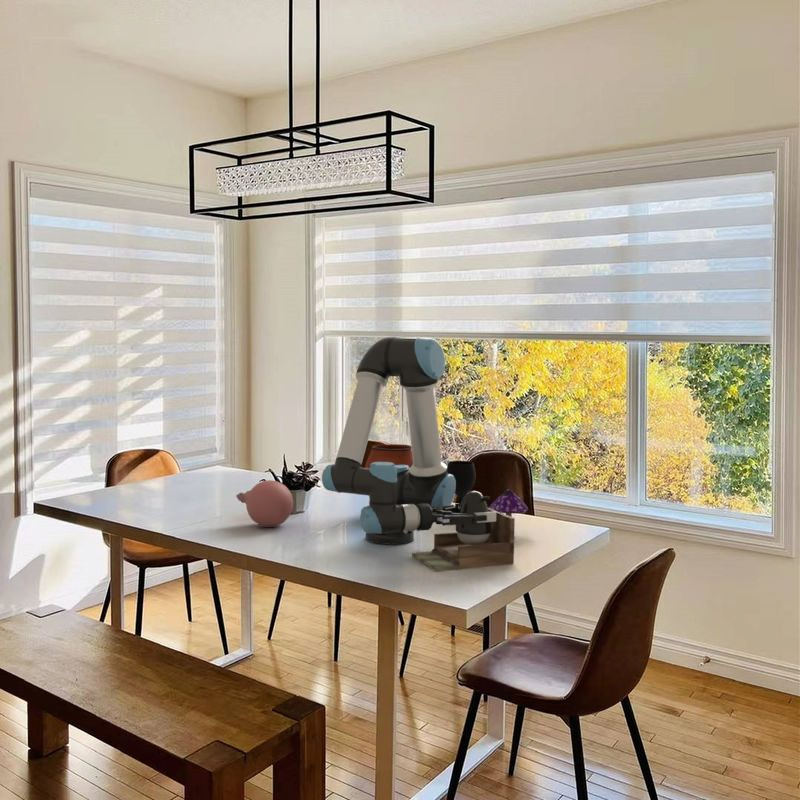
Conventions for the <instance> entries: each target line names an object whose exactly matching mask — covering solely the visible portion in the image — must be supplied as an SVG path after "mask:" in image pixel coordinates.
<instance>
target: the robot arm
mask: <svg viewBox="0 0 800 800" xmlns="http://www.w3.org/2000/svg"><path fill="white" fill-rule="evenodd" d="M445 366H446V355H445V352H444V350H443V346H442V345H441V343H439V341H438V340H436V339H435V338H432V337H424V336H410V337H409V336H403V337H401V336H399V337H398V336H397V337H395V336H387V337H384V338H381V339H380V340H378V341H376V342H375V343H374V344H373V345H371V346H370V347H369V349H368V350H366V352H365V354H364V355H363V356H362V358H361V360H360V362H359V364H358V367H357V369H356V372H355V379H356V380H357V382H356V385H355V390H354V392H353V395H352V396H353V397H352V400H351V402H350V403H351V404H350V407H349V411H348V415H347V418H346V421H345V426H344V429H343V433H342V436H341V440H340V444H339V447H338V450H337V451H338V452H337V454H336V458H335V460H334V463H333V464H328V465H326V466H325V467H324V469H323V471H322V473H321V482H322V486H323V488H324V489H325V490H327V491H329V492H336V493H338V494H341V493H343V494H354V495H360V496H361V495H362V496H368V498H369V501H368V504H369V505H366V506H363V507H361V509H360V514H359V516H360V517H359V520H360V521H359V523H360V526H361V529H362V531H363V532H364V533H365V540H366V541H368V542H369V543H373V544H379V545H400V544H401V545H402V544H407V543H411V542H412V540H413V541H414V539H415V538H414V537H415V535H414V532H415V531H416V532H417V531H418V532H419V531H420V532H421V531H429V530H430V529H432V526H433V524H436V525H442V526H454V525H455V526H456V525H474V526H476V525H477V523H480V522H496V512H479V513H474V514H465V513H458V512H459V508H460V507H459V502H458V503H457V502H456V503H455V504H452V503H453V501H454V498H455V495H456V494H455V489H456V480H455V478H454V476H453V475H451V474H448V473H447V466H448V465H447V464H445V463H444V462H443V461H442V454H441V453H442V452H441V442H440V432H439V421H438V409H437V400H436V399H437V398H436V389H435V387H436V386H437V385H438V384H439V383H440V378H441V377H442V376H443V375H444V372H445V371H446V370H445ZM391 377H397V378H399V386H400V387H401V388H403V389H404V390H405V396H406V406H407V407H406V408H407V417H408V426H409V427H408V428H409V435H410V437H409V438H410V446H411V447H412V449H411V450H412V457H413V465H412V466H411V467H410V468H409V466H408V465H395V464H394V463H391V462H373V463H371V464H370V468H365V467H362V464H363V459H364V456H365V453H366V449H367V445H368V441H369V438H370V434H371V431H372V428H373V423H374V419H375V416H376V412H377V409H378V404H379V402H380V397H381V395H382V390H383V388H384V387H386V386H387V385H388V381H389V379H390V378H391Z"/></svg>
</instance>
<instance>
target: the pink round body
mask: <svg viewBox="0 0 800 800" xmlns="http://www.w3.org/2000/svg"><path fill="white" fill-rule="evenodd" d="M236 499H237V500H238V501H239V502H241V503H242V504H245V506H246V507H245V508H246V511H247V514H248V516H249V517H250V519H251V520H252V521H253V522H254V523H256V524H257V525H259V526H262V527H265V528H273V527H277V526H280V525H282V524H283V523H285V522H286V520H288V519H289V517H290V515H291V514H292V511H293V508H294V498H293V494H292V492H291V491H290V489H289V488H288V487H287V486H286V485H285V484H283V483H281V482H279V481H277V480H272V479H271V480H269V479H268V480H264V481H261V482H259V483H257V484H255V485H254V486H253V487H252V488H251V489H250V490H247V491H246V492H239V493H238V494H236Z"/></svg>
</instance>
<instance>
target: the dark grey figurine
mask: <svg viewBox="0 0 800 800" xmlns="http://www.w3.org/2000/svg"><path fill="white" fill-rule="evenodd" d="M489 500H490V496H489V495H486V496H484V495H483V494H482V493H481V492H480V491H478V490H477V491H476V490H470V491H469V492H468V493H467V494H465V495H464V496H463V498H462V503H461V506H460V508H459V512H458V513H465V514H474V513H479V512H489V510H488V508H489V507H488V504H487V501H489ZM455 532H457V535H458V538H459V539H460V541H462V542H463V543H465V544H468V545H480V544H483V543H484V542H486V541H487V539H488V537H489V535H490V532H491V522H480V523H477V525H476V526H474V525H455Z"/></svg>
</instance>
